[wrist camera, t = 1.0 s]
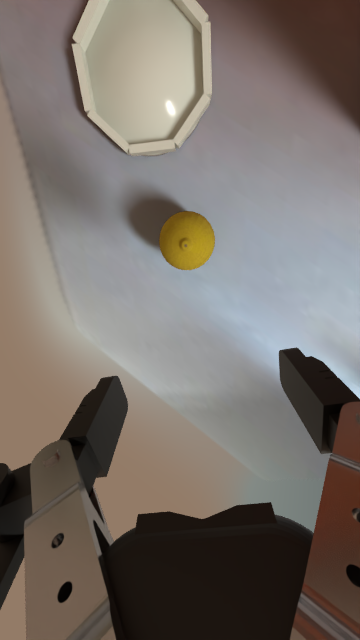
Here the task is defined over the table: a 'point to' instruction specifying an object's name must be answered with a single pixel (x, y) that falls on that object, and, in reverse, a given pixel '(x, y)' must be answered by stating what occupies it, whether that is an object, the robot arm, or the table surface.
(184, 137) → the dish
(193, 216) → the lemon
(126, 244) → the table surface
